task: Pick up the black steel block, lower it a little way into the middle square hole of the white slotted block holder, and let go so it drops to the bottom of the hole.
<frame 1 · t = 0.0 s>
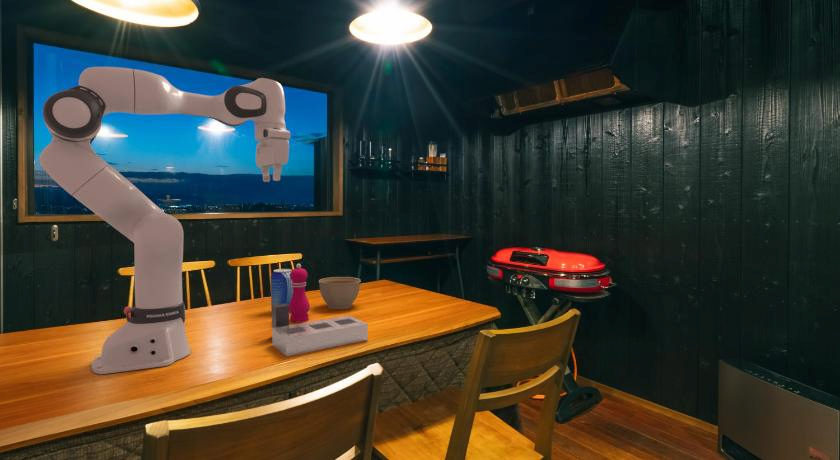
hand: (271, 181, 137), 48 cm above the table, tool pointing down, fingers open, 8 cm apart
beer can: (283, 312, 171), on the table
planter bowl: (340, 307, 179), on the table
white slotted block holder: (320, 342, 135), on the table
steel block: (280, 337, 140), on the table
pepper mill: (299, 320, 160), on the table
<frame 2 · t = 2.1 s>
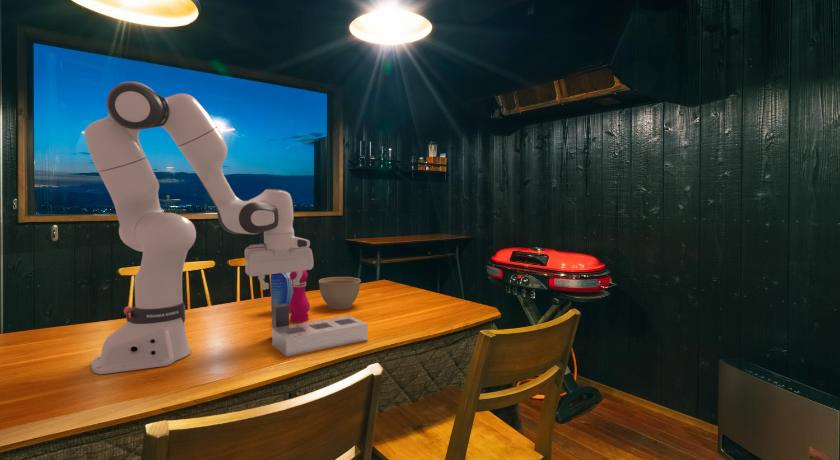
hand: (281, 287, 139), 16 cm above the table, tool pointing down, fingers open, 8 cm apart
nothing on the table moved.
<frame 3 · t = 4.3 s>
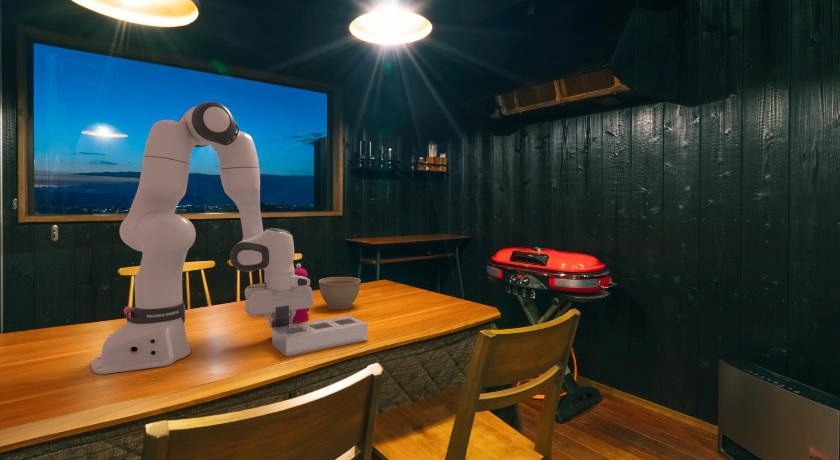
hand: (280, 325, 140), 4 cm above the table, tool pointing down, fingers closed on steel block, 4 cm apart
steel block: (280, 337, 140), on the table, touching gripper
everything else where it was.
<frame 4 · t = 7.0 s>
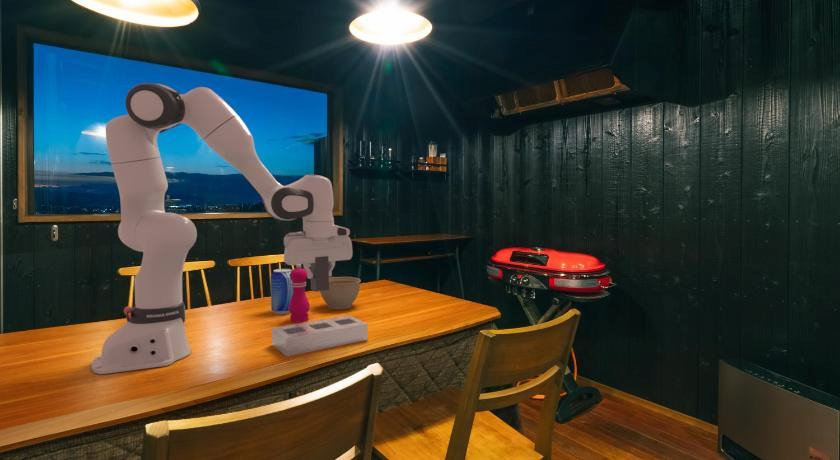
hand: (319, 277, 134), 20 cm above the table, tool pointing down, fingers closed on steel block, 4 cm apart
steel block: (319, 289, 134), point 16 cm above the table, touching gripper
everything else where it was.
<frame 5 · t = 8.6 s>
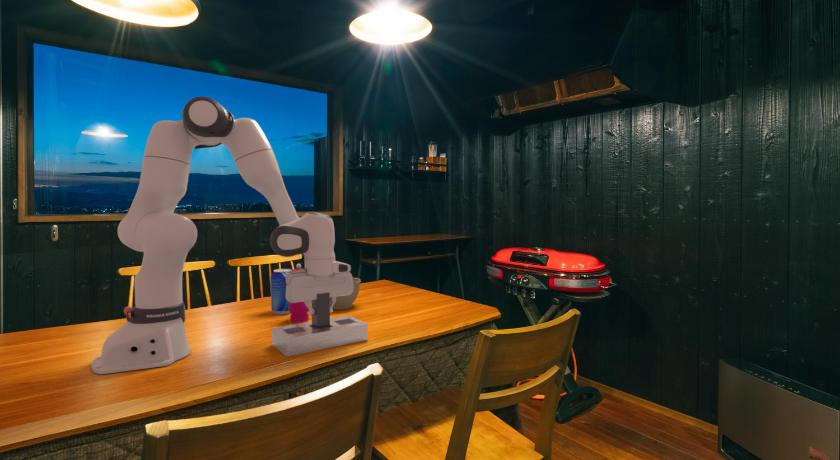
hand: (320, 313, 134), 9 cm above the table, tool pointing down, fingers closed on steel block, 4 cm apart
steel block: (320, 325, 135), point 5 cm above the table, touching gripper
everything else where it was.
when the fingers open (7 cm above the table, at t = 10.0 s): steel block drops 3 cm, on the table.
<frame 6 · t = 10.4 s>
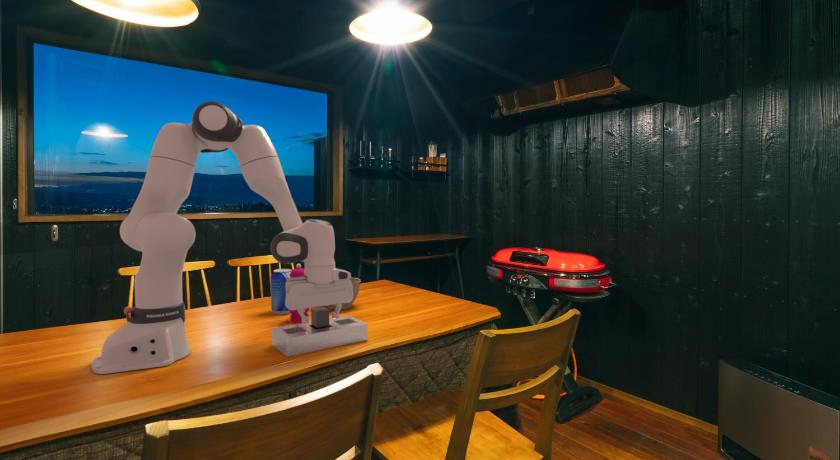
hand: (320, 320, 134), 7 cm above the table, tool pointing down, fingers open, 8 cm apart
steel block: (320, 342, 135), on the table
everything else where it was.
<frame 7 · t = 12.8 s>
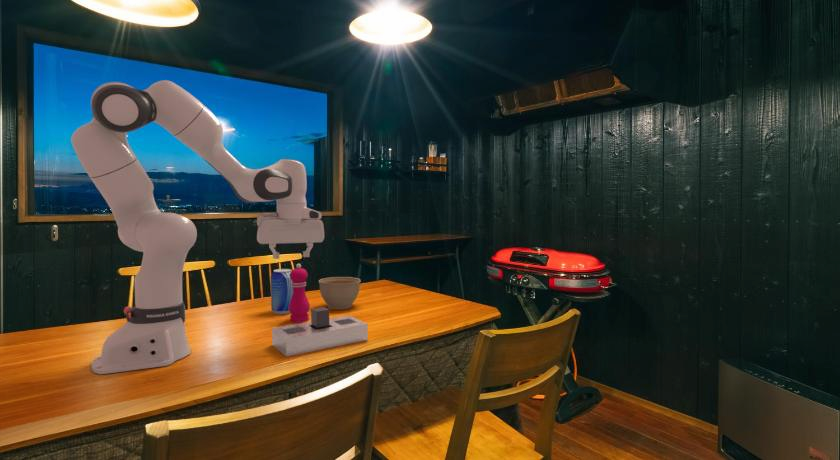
hand: (291, 257, 140), 24 cm above the table, tool pointing down, fingers open, 8 cm apart
nothing on the table moved.
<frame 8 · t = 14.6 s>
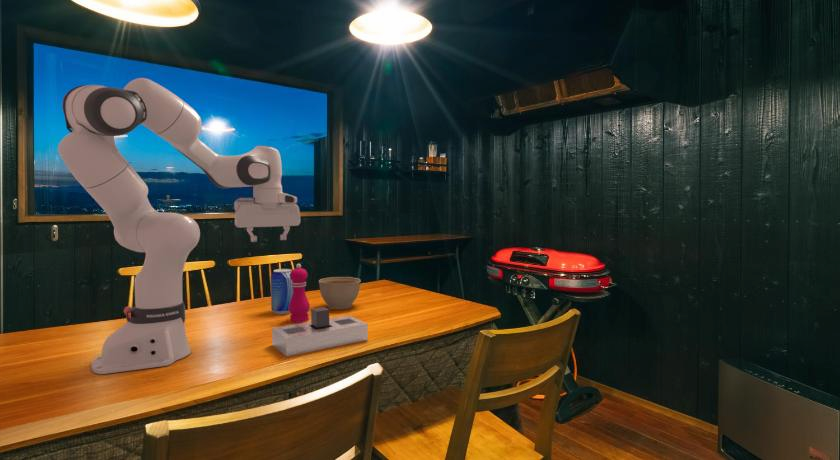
hand: (268, 240, 146), 29 cm above the table, tool pointing down, fingers open, 8 cm apart
nothing on the table moved.
at the end: steel block 0.2 cm off-centre on the white slotted block holder, point 0.0 cm above the white slotted block holder's base; steel block tilted 0°; the gripper is holding nothing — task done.
